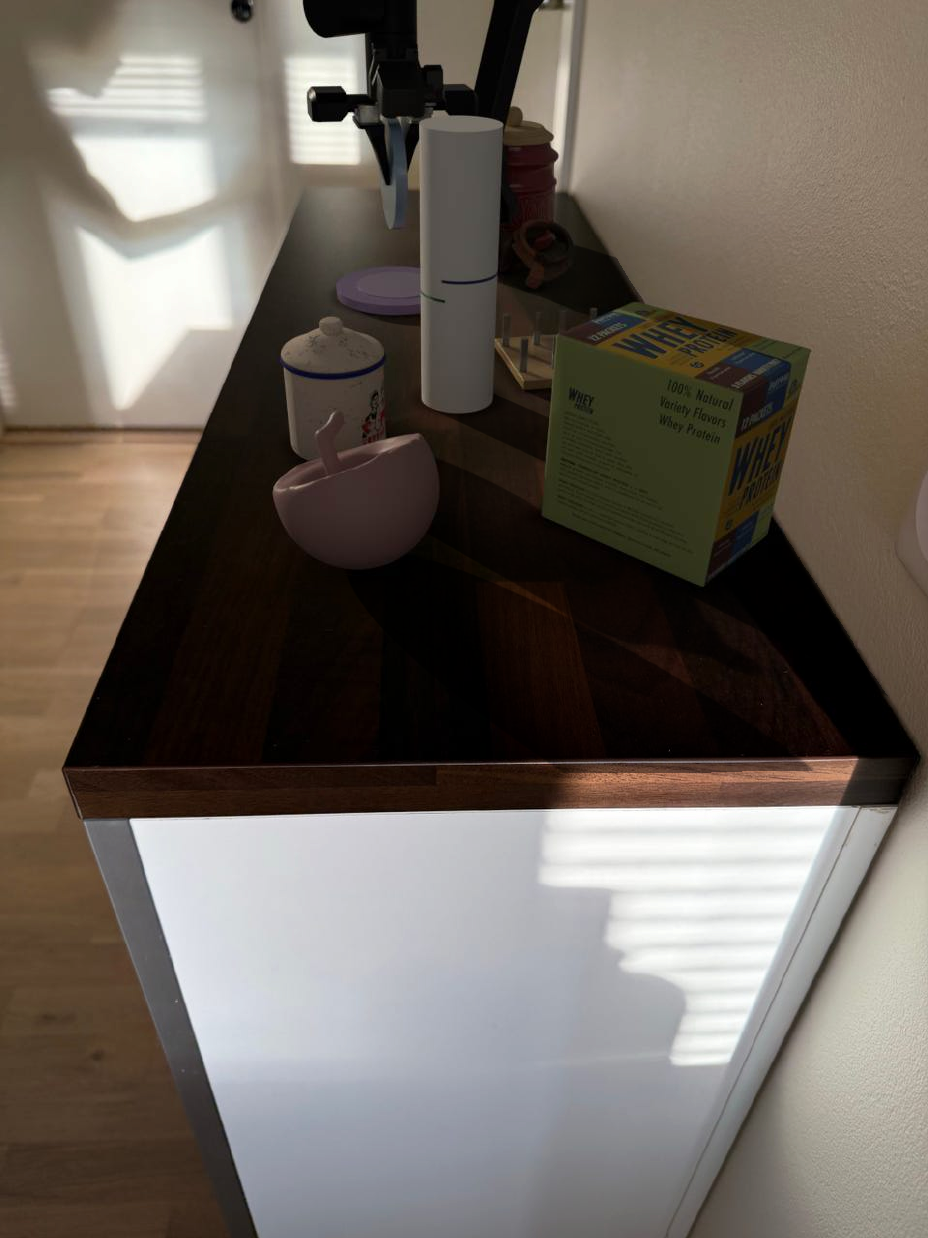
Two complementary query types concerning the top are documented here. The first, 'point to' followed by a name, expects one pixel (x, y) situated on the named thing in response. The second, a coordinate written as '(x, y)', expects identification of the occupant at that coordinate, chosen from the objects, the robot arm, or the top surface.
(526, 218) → the kitchen canister
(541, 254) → the pottery mug
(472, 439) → the top surface
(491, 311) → the cylindrical container
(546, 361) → the dish rack
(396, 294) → the lavender plate
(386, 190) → the blue plate
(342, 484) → the mortar and pestle
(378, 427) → the teacup with lid
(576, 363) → the protein box
